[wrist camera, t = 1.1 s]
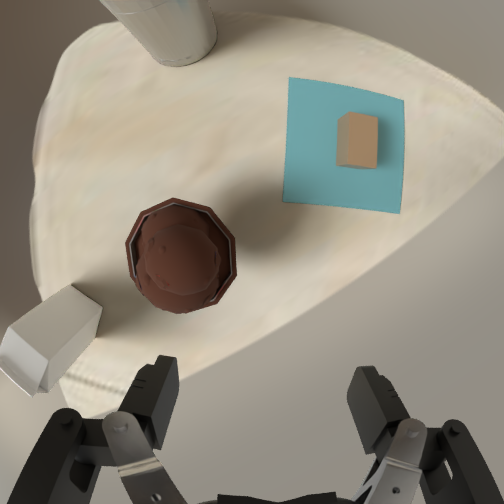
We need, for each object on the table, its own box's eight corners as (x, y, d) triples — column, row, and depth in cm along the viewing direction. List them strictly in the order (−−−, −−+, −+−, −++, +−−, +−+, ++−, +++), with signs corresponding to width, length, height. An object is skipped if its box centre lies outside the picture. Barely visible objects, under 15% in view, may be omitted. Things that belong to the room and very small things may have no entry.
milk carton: (69, 283, 36) (-11, 340, 17) (103, 307, 36) (30, 380, 18) (63, 316, 37) (-5, 376, 19) (95, 338, 38) (33, 411, 20)
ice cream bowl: (166, 185, 32) (104, 191, 17) (253, 208, 33) (252, 230, 18) (150, 264, 34) (93, 315, 20) (230, 288, 35) (215, 357, 21)
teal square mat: (288, 79, 29) (293, 63, 24) (400, 101, 29) (419, 92, 24) (282, 201, 33) (286, 204, 28) (396, 213, 33) (416, 218, 28)
